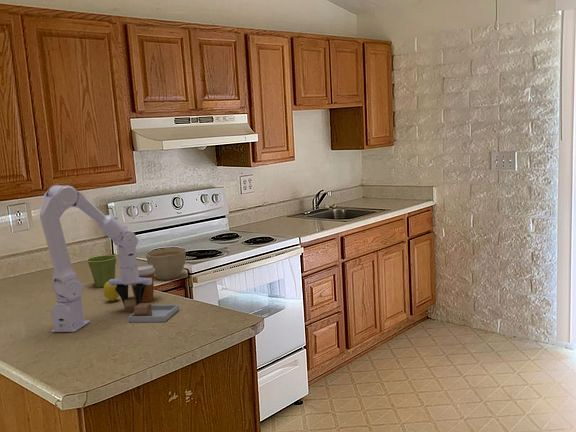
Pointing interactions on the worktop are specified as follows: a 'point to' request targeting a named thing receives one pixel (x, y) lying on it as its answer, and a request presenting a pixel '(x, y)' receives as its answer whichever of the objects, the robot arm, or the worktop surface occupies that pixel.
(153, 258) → the planter bowl
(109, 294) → the lemon
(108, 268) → the plant pot
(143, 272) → the disposable coffee cup
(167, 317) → the tray
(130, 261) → the robot arm
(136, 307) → the walnut block
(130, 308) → the walnut block
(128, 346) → the worktop surface
